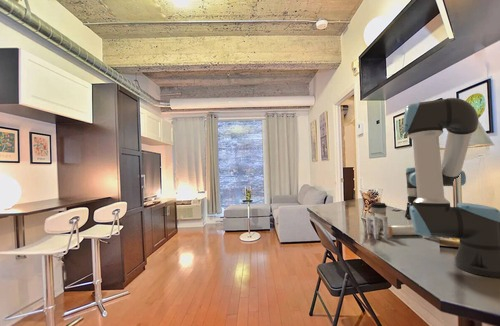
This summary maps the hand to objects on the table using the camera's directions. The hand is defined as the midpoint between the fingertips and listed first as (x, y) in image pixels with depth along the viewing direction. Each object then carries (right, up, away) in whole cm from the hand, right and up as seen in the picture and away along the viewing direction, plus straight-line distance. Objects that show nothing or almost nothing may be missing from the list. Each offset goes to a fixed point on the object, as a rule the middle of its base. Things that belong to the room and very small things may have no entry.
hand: (418, 234), depth 130 cm
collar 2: (-19, -1, +2) cm, 19 cm away
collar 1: (-24, -1, +2) cm, 24 cm away
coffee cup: (-11, -1, +18) cm, 21 cm away
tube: (-6, -1, +1) cm, 6 cm away
